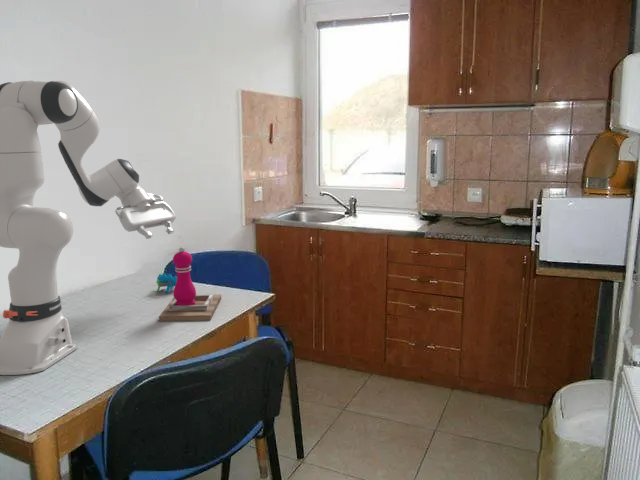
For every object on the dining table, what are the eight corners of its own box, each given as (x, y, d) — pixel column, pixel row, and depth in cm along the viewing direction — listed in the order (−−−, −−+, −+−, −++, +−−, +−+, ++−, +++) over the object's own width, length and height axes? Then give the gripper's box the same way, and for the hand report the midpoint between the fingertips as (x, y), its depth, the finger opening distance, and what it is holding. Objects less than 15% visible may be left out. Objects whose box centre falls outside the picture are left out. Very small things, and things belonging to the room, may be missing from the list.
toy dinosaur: (190, 284, 198) (174, 270, 190) (185, 298, 195) (169, 285, 187) (166, 285, 202) (150, 272, 195) (161, 299, 199) (145, 286, 192)
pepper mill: (189, 311, 168) (185, 250, 164) (169, 308, 170) (165, 248, 166) (201, 304, 175) (197, 245, 171) (182, 302, 177) (178, 244, 173)
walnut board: (210, 319, 164) (210, 310, 164) (159, 321, 164) (158, 311, 163) (221, 298, 186) (221, 290, 185) (175, 299, 185) (175, 291, 185)
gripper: (116, 201, 169) (140, 234, 166) (165, 195, 186) (187, 224, 183) (109, 214, 172) (131, 246, 169) (157, 207, 189) (178, 236, 186)
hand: (160, 235), depth 176 cm, fingers open, 8 cm apart
